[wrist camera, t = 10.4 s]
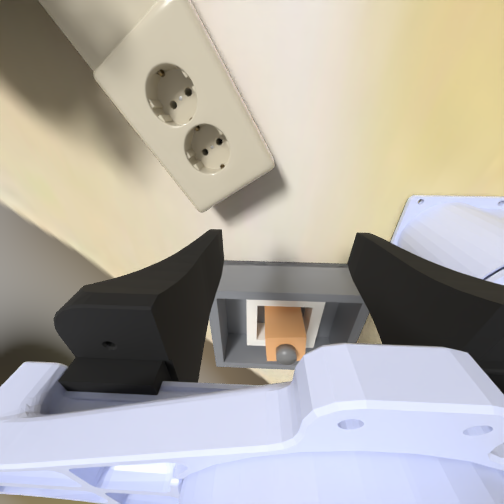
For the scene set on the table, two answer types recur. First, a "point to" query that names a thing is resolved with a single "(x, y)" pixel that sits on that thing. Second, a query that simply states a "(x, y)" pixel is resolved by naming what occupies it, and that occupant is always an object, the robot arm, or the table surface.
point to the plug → (284, 334)
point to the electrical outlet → (170, 90)
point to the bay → (286, 295)
